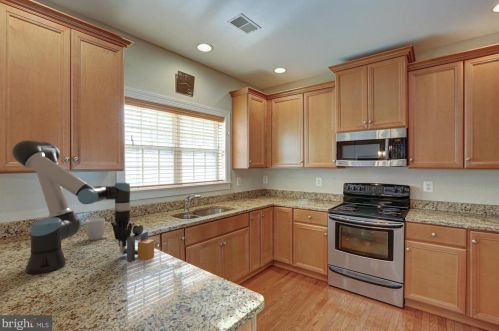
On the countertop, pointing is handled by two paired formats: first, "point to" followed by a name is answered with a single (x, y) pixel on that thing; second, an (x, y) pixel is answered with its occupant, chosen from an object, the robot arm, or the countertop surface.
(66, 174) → the robot arm
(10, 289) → the countertop surface
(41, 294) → the countertop surface
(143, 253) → the plug
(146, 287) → the countertop surface
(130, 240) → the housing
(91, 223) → the mug
